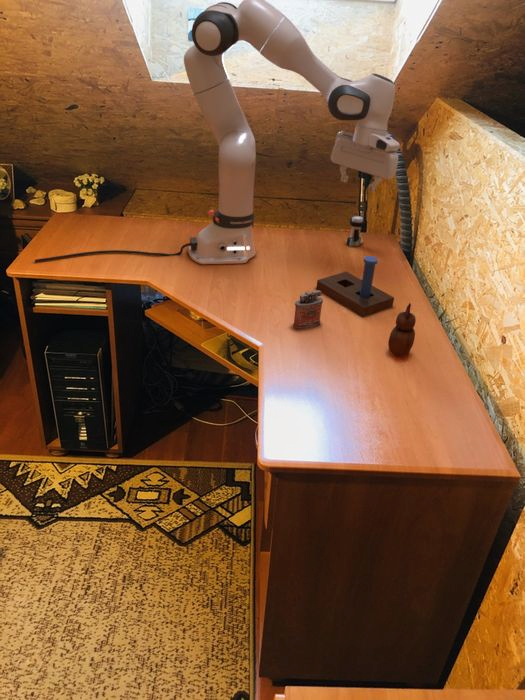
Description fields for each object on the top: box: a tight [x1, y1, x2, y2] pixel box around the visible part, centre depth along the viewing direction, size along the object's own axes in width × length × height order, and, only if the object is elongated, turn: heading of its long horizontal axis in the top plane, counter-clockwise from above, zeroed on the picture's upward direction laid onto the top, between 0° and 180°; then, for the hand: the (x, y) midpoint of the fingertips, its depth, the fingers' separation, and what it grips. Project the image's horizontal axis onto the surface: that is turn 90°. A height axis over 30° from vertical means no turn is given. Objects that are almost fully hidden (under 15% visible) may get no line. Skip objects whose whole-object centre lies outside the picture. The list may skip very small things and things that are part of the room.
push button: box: [346, 215, 366, 248], centre depth 202 cm, size 7×5×10 cm
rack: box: [316, 271, 395, 318], centre depth 169 cm, size 12×20×3 cm, turn 36°
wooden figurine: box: [387, 302, 417, 358], centre depth 142 cm, size 7×6×15 cm
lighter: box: [292, 290, 324, 331], centre depth 152 cm, size 8×3×10 cm, turn 118°
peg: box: [359, 255, 379, 299], centre depth 164 cm, size 4×4×14 cm
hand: (357, 186), depth 170 cm, fingers open, 8 cm apart
